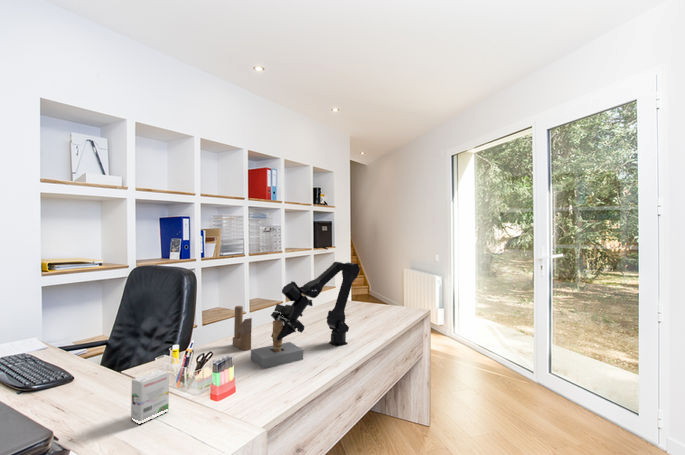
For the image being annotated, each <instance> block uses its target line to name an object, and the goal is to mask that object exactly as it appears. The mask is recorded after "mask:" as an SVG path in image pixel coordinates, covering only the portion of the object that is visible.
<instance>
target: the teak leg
mask: <svg viewBox="0 0 685 455" xmlns="http://www.w3.org/2000/svg"><path fill="white" fill-rule="evenodd" d="M283 325H284V324H283V321H282V320H274V319H273V320H272V332H273V338H272V345H273V349H274V353H276V352H280V351H281V348H282V343H283V338H282V339H280V340H277V337H278V335H279V334H280V332H281V331H282V329H283Z"/></svg>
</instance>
